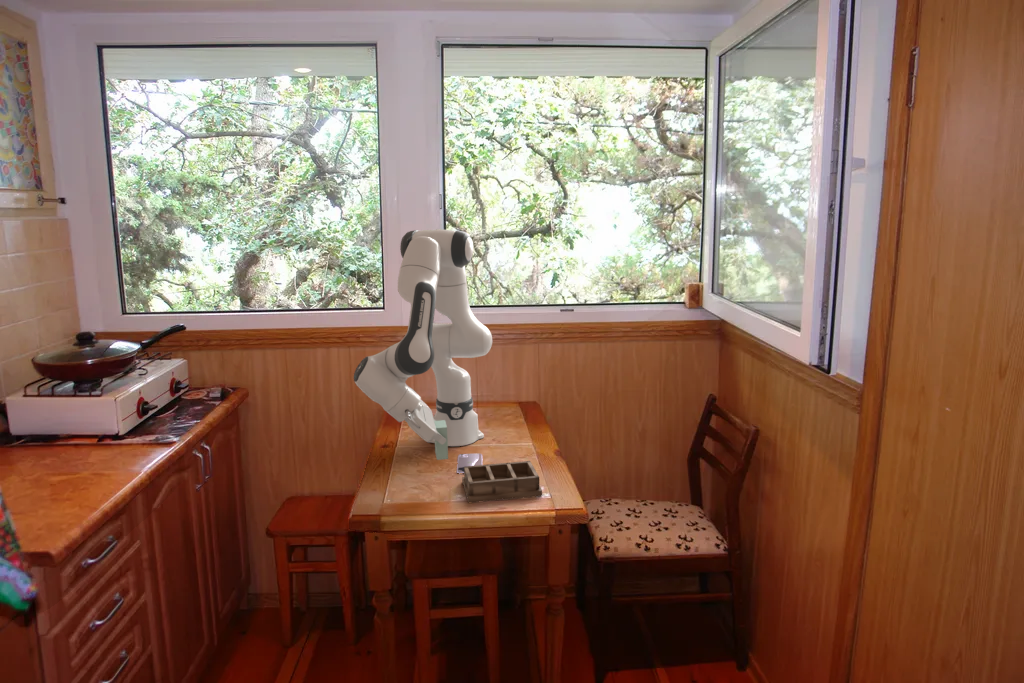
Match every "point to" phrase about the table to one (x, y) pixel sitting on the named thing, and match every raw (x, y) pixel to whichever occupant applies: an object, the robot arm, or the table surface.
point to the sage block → (439, 448)
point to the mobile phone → (468, 461)
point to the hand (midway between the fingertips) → (443, 437)
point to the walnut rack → (501, 481)
